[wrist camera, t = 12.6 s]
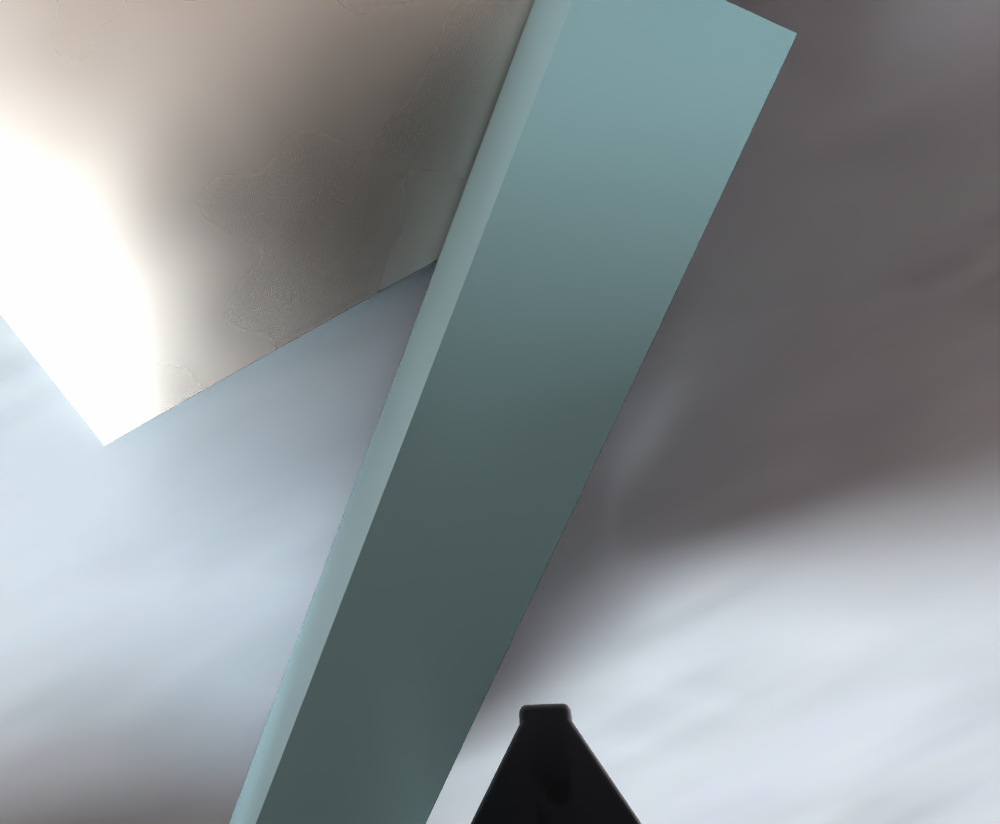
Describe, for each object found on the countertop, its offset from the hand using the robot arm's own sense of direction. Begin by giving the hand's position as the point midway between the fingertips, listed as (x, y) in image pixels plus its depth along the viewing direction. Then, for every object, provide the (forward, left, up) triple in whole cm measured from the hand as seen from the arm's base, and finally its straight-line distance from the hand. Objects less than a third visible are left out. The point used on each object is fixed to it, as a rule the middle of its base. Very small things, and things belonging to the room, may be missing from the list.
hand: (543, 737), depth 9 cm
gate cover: (+2, -1, -2) cm, 3 cm away
